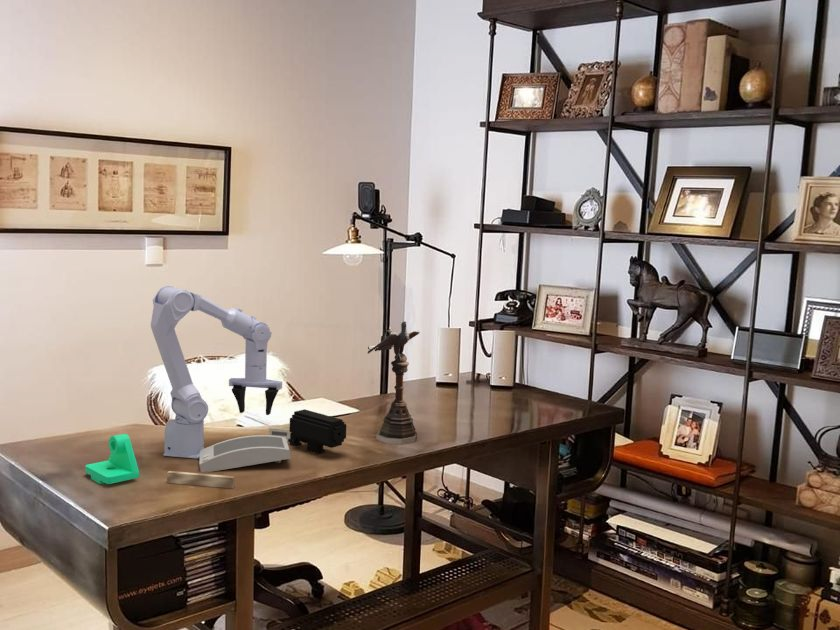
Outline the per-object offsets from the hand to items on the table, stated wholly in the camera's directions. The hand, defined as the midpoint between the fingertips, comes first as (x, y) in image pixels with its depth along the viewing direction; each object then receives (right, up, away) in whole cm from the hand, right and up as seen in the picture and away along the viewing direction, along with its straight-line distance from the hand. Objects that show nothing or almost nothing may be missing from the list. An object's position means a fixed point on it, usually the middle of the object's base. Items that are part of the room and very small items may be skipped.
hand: (255, 413), depth 232 cm
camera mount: (-28, -12, -32) cm, 44 cm away
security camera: (+17, -10, -4) cm, 20 cm away
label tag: (+6, -8, +4) cm, 11 cm away
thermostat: (+1, -11, -17) cm, 20 cm away
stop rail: (-6, -13, -34) cm, 37 cm away
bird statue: (+36, -9, +12) cm, 39 cm away
